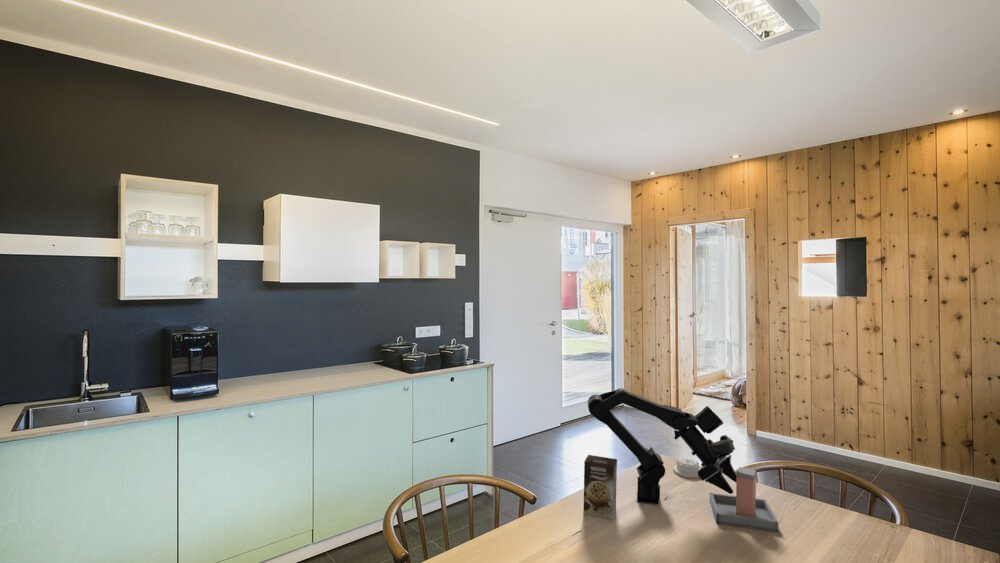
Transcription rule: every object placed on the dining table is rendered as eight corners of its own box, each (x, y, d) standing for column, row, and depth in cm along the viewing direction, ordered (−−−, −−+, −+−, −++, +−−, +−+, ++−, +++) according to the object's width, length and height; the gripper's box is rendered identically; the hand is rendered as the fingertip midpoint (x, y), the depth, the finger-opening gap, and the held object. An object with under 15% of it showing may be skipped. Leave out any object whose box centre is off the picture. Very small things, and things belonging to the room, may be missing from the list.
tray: (716, 523, 140) (716, 513, 140) (709, 501, 153) (709, 492, 153) (778, 532, 135) (778, 522, 135) (765, 508, 149) (765, 499, 149)
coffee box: (582, 514, 145) (583, 461, 145) (587, 504, 151) (587, 453, 151) (613, 520, 141) (614, 465, 141) (616, 510, 147) (617, 458, 147)
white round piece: (706, 479, 170) (697, 468, 180) (706, 467, 170) (697, 456, 180) (677, 478, 171) (670, 467, 181) (677, 466, 171) (670, 455, 181)
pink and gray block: (736, 515, 143) (736, 471, 143) (738, 509, 147) (739, 466, 146) (752, 519, 140) (753, 475, 140) (755, 513, 144) (756, 470, 144)
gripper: (710, 437, 140) (751, 484, 134) (724, 421, 155) (762, 463, 149) (681, 457, 145) (720, 504, 139) (698, 440, 160) (733, 482, 154)
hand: (735, 487), depth 145 cm, fingers open, 9 cm apart
